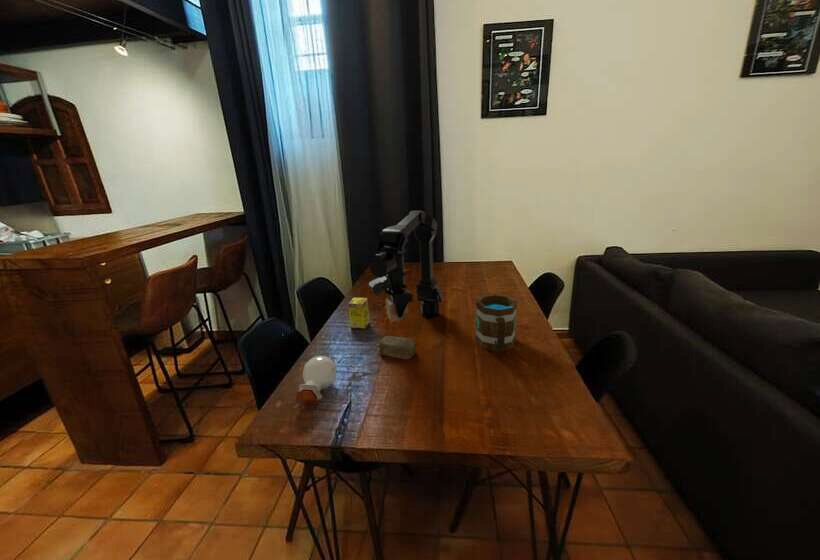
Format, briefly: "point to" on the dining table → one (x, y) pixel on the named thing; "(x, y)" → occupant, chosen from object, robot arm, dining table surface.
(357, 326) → the supplement box
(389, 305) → the beige cube
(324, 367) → the potion bottle
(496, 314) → the mug
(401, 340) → the stone block
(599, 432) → the dining table surface
